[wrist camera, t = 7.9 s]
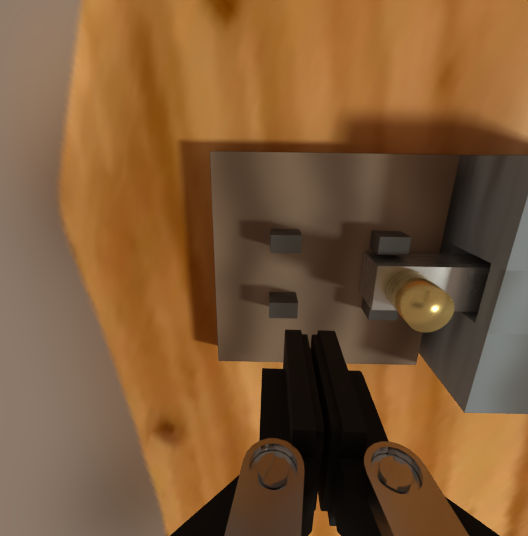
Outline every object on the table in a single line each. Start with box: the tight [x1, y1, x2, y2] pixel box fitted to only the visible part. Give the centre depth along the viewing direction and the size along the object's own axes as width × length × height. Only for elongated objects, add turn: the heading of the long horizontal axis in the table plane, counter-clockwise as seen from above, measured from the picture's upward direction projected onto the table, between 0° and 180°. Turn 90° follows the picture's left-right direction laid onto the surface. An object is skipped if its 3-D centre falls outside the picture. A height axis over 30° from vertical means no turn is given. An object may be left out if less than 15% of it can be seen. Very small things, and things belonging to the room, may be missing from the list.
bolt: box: [359, 252, 491, 332], centre depth 20 cm, size 12×3×6 cm, turn 89°
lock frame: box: [210, 151, 528, 414], centre depth 21 cm, size 25×16×7 cm, turn 89°
